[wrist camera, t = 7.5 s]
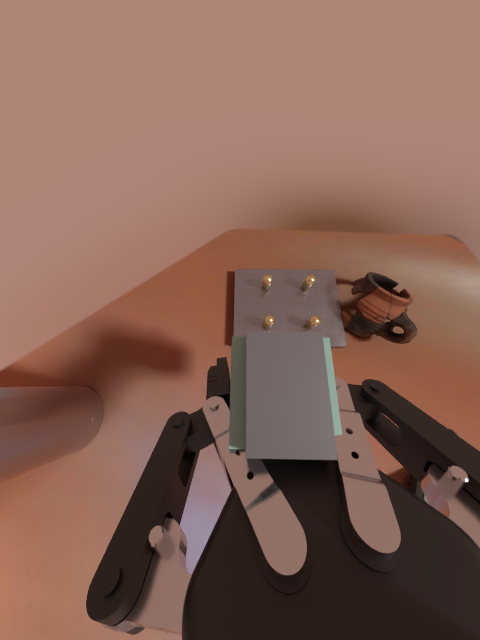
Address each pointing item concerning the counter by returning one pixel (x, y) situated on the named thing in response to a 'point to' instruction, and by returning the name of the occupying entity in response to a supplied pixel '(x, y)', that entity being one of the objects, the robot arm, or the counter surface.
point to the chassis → (288, 303)
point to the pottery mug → (380, 310)
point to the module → (283, 396)
